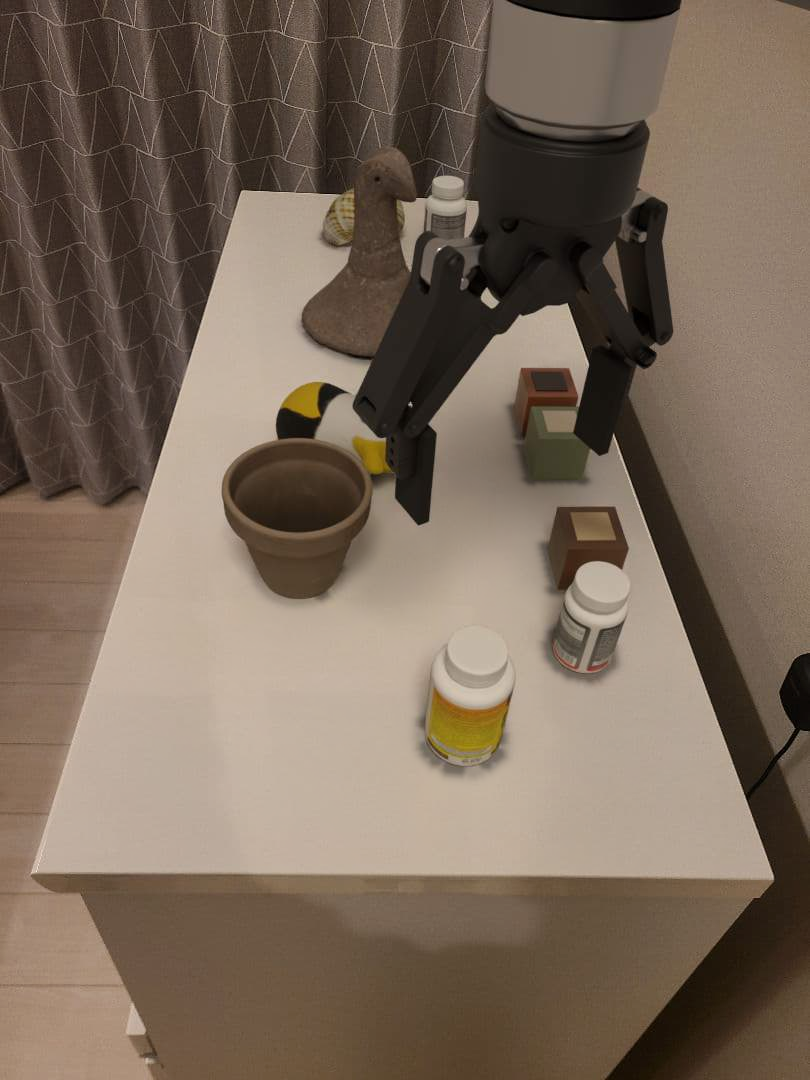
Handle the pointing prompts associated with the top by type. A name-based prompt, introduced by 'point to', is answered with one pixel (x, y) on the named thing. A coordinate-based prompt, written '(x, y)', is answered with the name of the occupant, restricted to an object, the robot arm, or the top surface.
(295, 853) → the top surface
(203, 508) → the top surface
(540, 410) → the block far
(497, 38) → the robot arm
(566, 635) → the pill bottle
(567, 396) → the block end
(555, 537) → the block near
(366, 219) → the sculpture
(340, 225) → the seashell
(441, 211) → the pill bottle
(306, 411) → the figurine
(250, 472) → the flower pot
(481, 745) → the supplement bottle
